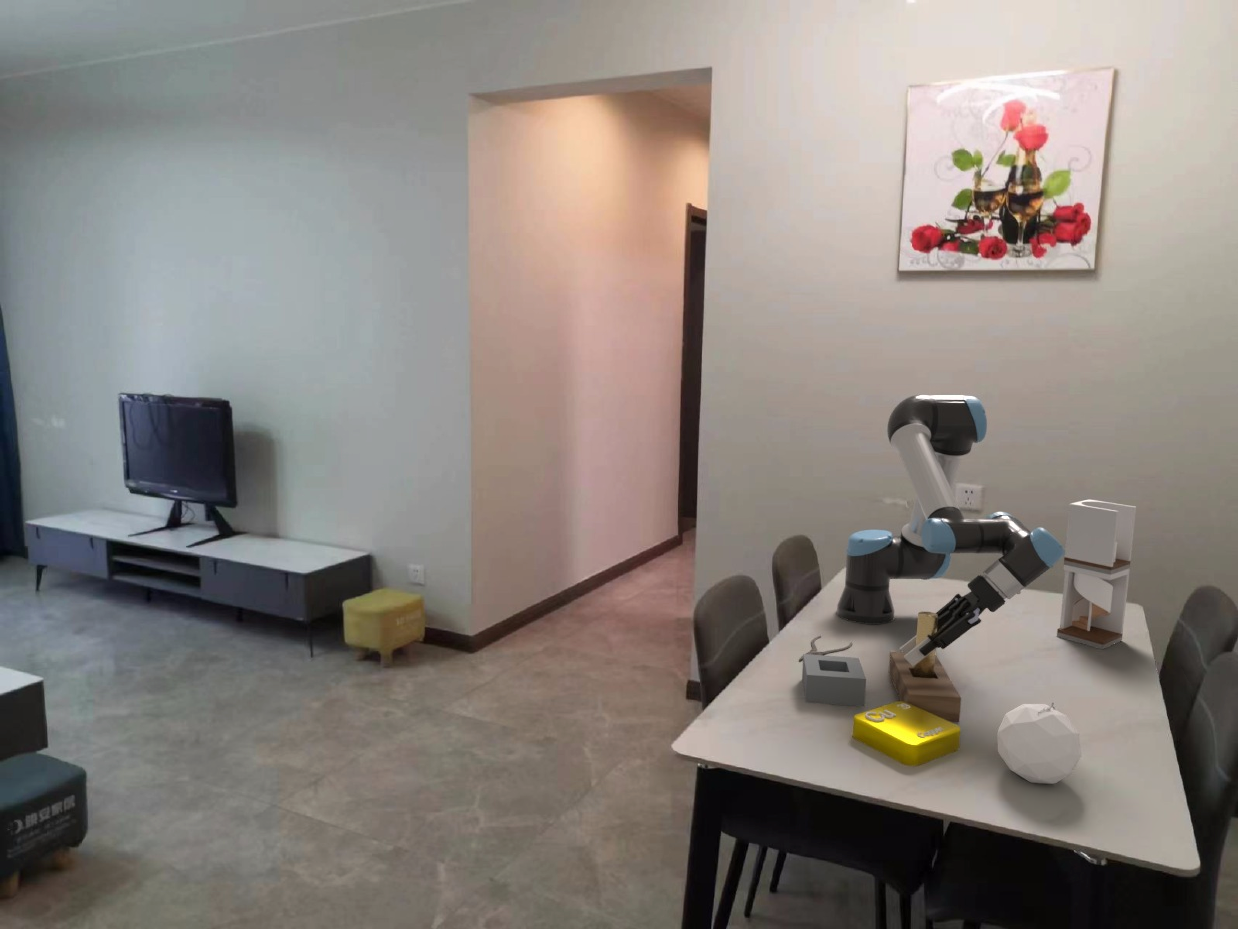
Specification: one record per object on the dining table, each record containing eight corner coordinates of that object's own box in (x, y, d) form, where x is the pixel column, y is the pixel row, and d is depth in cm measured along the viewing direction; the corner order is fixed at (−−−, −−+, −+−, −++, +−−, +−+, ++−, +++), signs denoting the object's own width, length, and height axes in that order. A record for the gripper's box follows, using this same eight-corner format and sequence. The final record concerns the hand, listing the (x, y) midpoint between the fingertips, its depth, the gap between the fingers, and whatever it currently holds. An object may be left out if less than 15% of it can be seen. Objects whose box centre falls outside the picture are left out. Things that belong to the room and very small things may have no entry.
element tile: (910, 770, 156) (912, 744, 156) (847, 736, 169) (848, 713, 168) (964, 749, 164) (965, 725, 164) (899, 719, 177) (901, 696, 176)
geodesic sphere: (1015, 716, 165) (1006, 673, 157) (1096, 739, 156) (1090, 695, 148) (991, 782, 158) (980, 740, 150) (1074, 810, 149) (1066, 767, 141)
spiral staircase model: (1056, 636, 226) (1069, 503, 221) (1076, 628, 233) (1089, 499, 227) (1102, 649, 217) (1117, 511, 212) (1121, 640, 224) (1136, 506, 218)
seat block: (802, 679, 195) (803, 654, 194) (857, 683, 194) (858, 657, 193) (805, 702, 184) (806, 674, 183) (864, 706, 182) (866, 679, 181)
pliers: (854, 640, 220) (839, 667, 202) (853, 643, 220) (839, 670, 202) (815, 634, 224) (797, 660, 206) (815, 637, 224) (797, 663, 206)
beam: (888, 672, 200) (890, 651, 200) (934, 675, 199) (935, 654, 198) (907, 717, 177) (909, 694, 176) (959, 721, 175) (961, 698, 175)
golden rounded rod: (911, 682, 190) (916, 611, 187) (930, 683, 189) (936, 612, 186) (914, 689, 186) (920, 617, 183) (934, 690, 185) (940, 618, 183)
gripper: (1018, 613, 174) (926, 686, 179) (995, 588, 190) (911, 655, 195) (993, 586, 173) (901, 659, 178) (971, 563, 190) (888, 630, 195)
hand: (906, 657), depth 187 cm, fingers closed on golden rounded rod, 4 cm apart
